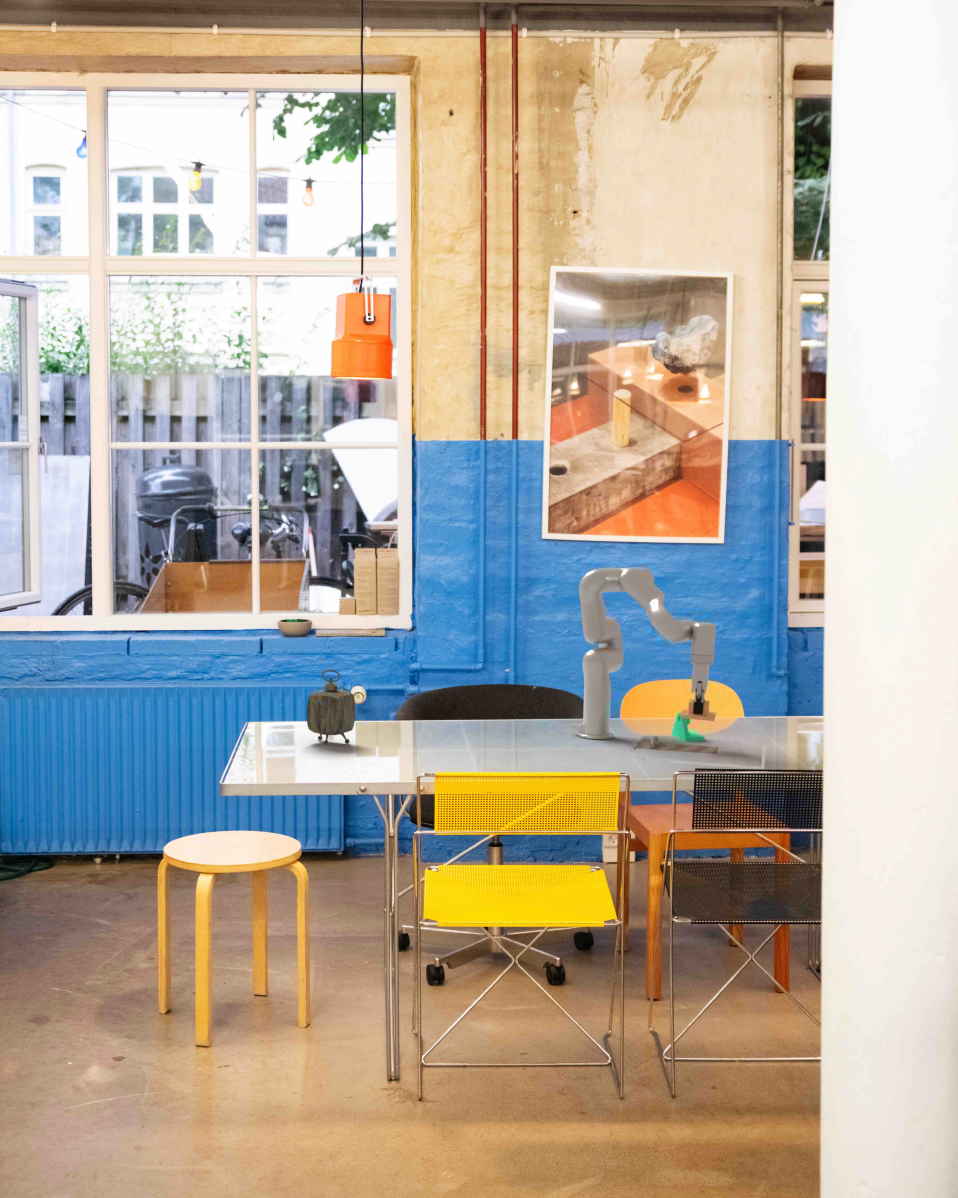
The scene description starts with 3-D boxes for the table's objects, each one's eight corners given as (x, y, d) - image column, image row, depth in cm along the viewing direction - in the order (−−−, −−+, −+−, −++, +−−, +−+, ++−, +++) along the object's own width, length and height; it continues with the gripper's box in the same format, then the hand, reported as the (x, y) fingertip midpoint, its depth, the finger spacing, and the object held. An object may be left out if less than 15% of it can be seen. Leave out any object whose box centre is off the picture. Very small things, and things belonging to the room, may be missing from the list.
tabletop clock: (354, 743, 384) (356, 669, 383) (340, 748, 376) (341, 672, 375) (318, 739, 391) (319, 666, 389) (303, 743, 382) (304, 669, 381)
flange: (714, 721, 378) (715, 705, 378) (680, 718, 381) (681, 702, 381) (715, 715, 389) (716, 700, 389) (682, 712, 392) (683, 697, 391)
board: (634, 750, 385) (634, 739, 384) (638, 744, 396) (638, 732, 396) (716, 756, 378) (716, 744, 378) (717, 750, 390) (718, 738, 390)
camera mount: (705, 744, 401) (706, 715, 400) (685, 744, 399) (686, 715, 398) (691, 737, 412) (692, 709, 412) (671, 738, 411) (672, 709, 410)
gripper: (692, 655, 393) (688, 707, 394) (689, 661, 376) (685, 715, 377) (714, 657, 391) (711, 709, 392) (712, 663, 374) (708, 717, 376)
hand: (698, 711), depth 385 cm, fingers closed on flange, 6 cm apart
